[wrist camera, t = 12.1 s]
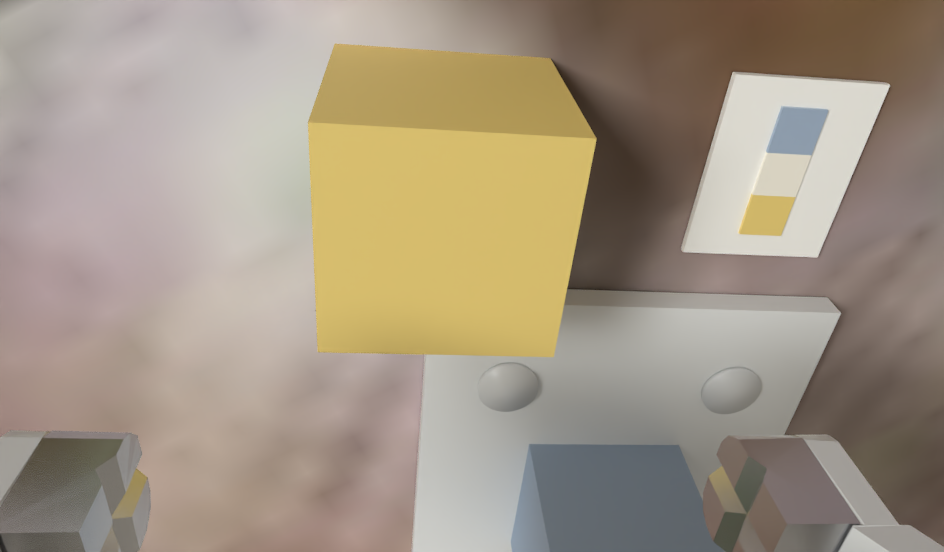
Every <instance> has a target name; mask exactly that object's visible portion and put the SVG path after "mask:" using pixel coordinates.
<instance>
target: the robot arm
mask: <svg viewBox="0 0 944 552" xmlns="http://www.w3.org/2000/svg"><path fill="white" fill-rule="evenodd" d="M141 455H142V451H141V447H140V444H139V440H138V437H137V435H134V434H132V433H115V432H80V431H51V432H49V431H17V430H11V431H9V432H8V433H6V434H4V435H3V436H1V437H0V552H137V551H139V550H140V547H141V545H142V542H143V539H144V536H145V533H146V531H147V526H148V520H149V514H150V508H151V502H150V487H149V482H148V478H147V477H146V476H145V475H144V474H142V473H141V472H140V471H139V470H137V469H136V467H137V465H138V463H139V460H140V458H141ZM716 455H717V457H718V459H719V461H720V463H721V465H722V466H721V467H719V468H718V469H717V470H716V471H714V472H713V473H712V474H711V475H709V476H708V479H707V482H706V485H705V488H704V491H703V513H704V518H705V522H706V526H707V528H708V531H709V533H710V536H711V538H712V540H713V542H714V543H715V544H717V545H718V546H719V547H720V548H722V549H723V550H724V551H725V552H944V547H943V546H941V545H940V544H938V543H937V542H935V541H934V540H932V539H931V538H929V537H928V536H926V535H924V534H923V533H921V532H920V531H918V530H917V529H915V528H914V527H912V526H910V525H899V524H898V522H897V521H896V520H895V518H894V517H893V516H892V514H891V513H890V511H889V510H888V509H887V507H886V506H885V505H884V503H883V502H882V501H881V499H880V498H879V497H878V495H877V494H876V492H875V491H874V490H873V488H872V487H871V486H870V484H869V483H868V482H867V480H866V479H865V477H864V476H863V475H862V473H861V472H860V471H859V469H858V468H857V467H856V465H855V464H854V462H853V461H852V460H851V458H850V457H849V456H848V454H847V453H846V452H845V450H844V449H843V448H842V446H841V445H840V443H839V442H838V441H837V440H836V439H834V438H833V437H831V436H830V435H793V436H792V435H728V436H727V437H726V438H725V439H724V440H723V441H722V442H721V444H720V447H719V449H718V452H717V454H716Z"/></svg>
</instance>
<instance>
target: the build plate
mask: <svg viewBox="0 0 944 552" xmlns="http://www.w3.org/2000/svg"><path fill="white" fill-rule="evenodd" d="M840 315H841V312H840V311H839V310H838V309H837V308H836V307H835V305H834V304H833V303H832V302H831V301H830V300H829V299H828V297H798V296H767V295H735V294H704V293H672V292H641V291H609V290H578V289H567V292H566V298H565V303H564V308H563V313H562V318H561V323H560V328H559V333H558V338H557V343H556V348H555V353H554V357H520V356H473V355H427V354H424V368H423V383H422V398H421V413H420V428H419V443H418V458H417V473H416V488H415V503H414V518H413V533H412V548H411V552H512V548H511V537H512V532H513V527H514V522H515V516H516V511H517V506H518V501H519V495H520V490H521V485H522V480H523V474H524V469H525V464H526V459H527V453H528V448H529V444H591V445H679V447H680V449H681V451H682V454H683V456H684V458H685V461H686V463H687V465H688V468H689V470H690V472H691V475H692V477H693V479H694V482H695V484H696V486H697V489H698V491H699V493H700V496H701V498H702V500H703V491H704V488H705V485H706V482H707V479H708V476H709V475H711V474H712V473H713V472H714V471H716V470H717V469H718V468H719V467H721V466H722V465H721V463H720V461H719V459H718V457H717V455H716V454H717V452H718V449H719V447H720V444H721V442H722V441H723V440H724V439H725V438H726V437H727V436H728V435H784V434H785V432H786V430H787V428H788V426H789V424H790V421H791V419H792V417H793V415H794V413H795V411H796V409H797V406H798V404H799V402H800V400H801V398H802V396H803V394H804V392H805V389H806V387H807V385H808V383H809V381H810V379H811V377H812V374H813V372H814V370H815V368H816V366H817V364H818V362H819V360H820V357H821V355H822V353H823V351H824V349H825V347H826V345H827V342H828V340H829V338H830V336H831V334H832V332H833V330H834V328H835V325H836V323H837V321H838V319H839V317H840Z"/></svg>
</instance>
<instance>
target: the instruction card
mask: <svg viewBox="0 0 944 552" xmlns="http://www.w3.org/2000/svg"><path fill="white" fill-rule="evenodd" d="M889 87H890V84H888V83H886V82H873V81H858V80H844V79H830V78H815V77H801V76H787V75H772V74H758V73H743V72H733V73H732V76H731V80H730V83H729V86H728V90H727V93H726V97H725V100H724V103H723V107H722V110H721V114H720V117H719V120H718V124H717V127H716V131H715V134H714V137H713V141H712V144H711V148H710V151H709V154H708V158H707V161H706V165H705V168H704V171H703V175H702V178H701V181H700V185H699V188H698V192H697V195H696V198H695V202H694V205H693V209H692V212H691V215H690V219H689V222H688V226H687V229H686V232H685V236H684V239H683V243H682V246H681V250H682V251H683V252H690V253H716V254H742V255H768V256H794V257H818V255H819V253H820V250H821V248H822V246H823V243H824V241H825V238H826V236H827V234H828V231H829V229H830V227H831V224H832V222H833V219H834V217H835V215H836V212H837V210H838V208H839V205H840V203H841V201H842V198H843V196H844V193H845V191H846V189H847V186H848V184H849V182H850V179H851V177H852V175H853V172H854V170H855V167H856V165H857V163H858V160H859V158H860V156H861V153H862V151H863V149H864V146H865V144H866V141H867V139H868V137H869V134H870V132H871V130H872V127H873V125H874V123H875V120H876V118H877V115H878V113H879V111H880V108H881V106H882V104H883V101H884V99H885V96H886V94H887V92H888V89H889Z"/></svg>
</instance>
